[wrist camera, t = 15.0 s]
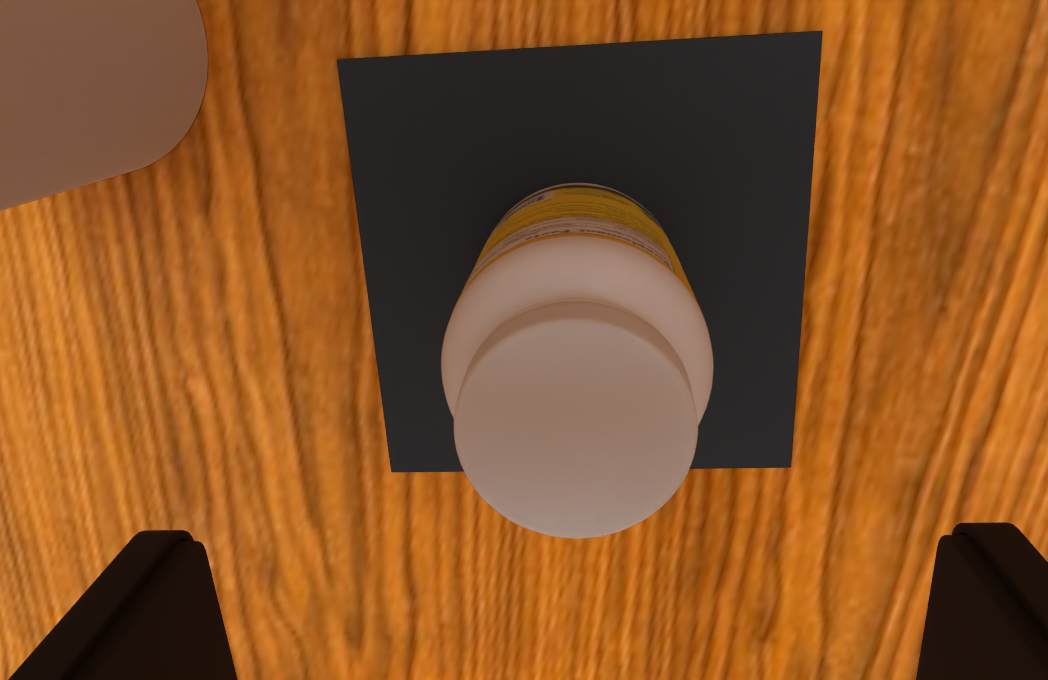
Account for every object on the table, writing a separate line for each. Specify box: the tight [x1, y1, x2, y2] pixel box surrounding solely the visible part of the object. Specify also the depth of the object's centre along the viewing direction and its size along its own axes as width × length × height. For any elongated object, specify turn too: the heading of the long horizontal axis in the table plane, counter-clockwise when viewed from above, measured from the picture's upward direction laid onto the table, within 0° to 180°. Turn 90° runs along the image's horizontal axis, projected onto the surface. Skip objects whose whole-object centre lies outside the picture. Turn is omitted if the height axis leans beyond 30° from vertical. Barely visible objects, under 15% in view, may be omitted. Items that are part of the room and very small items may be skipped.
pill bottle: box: [441, 183, 713, 538], centre depth 20 cm, size 6×6×11 cm
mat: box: [337, 31, 822, 472], centre depth 25 cm, size 14×14×1 cm
